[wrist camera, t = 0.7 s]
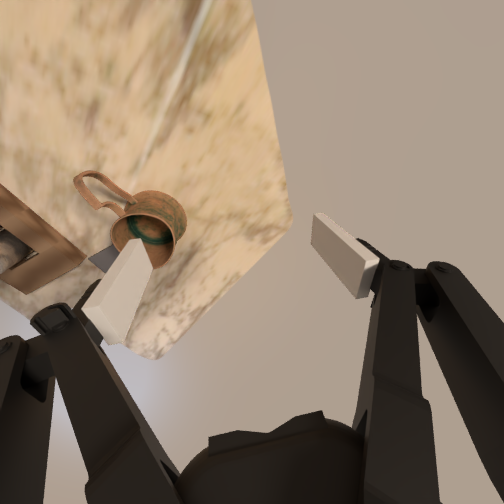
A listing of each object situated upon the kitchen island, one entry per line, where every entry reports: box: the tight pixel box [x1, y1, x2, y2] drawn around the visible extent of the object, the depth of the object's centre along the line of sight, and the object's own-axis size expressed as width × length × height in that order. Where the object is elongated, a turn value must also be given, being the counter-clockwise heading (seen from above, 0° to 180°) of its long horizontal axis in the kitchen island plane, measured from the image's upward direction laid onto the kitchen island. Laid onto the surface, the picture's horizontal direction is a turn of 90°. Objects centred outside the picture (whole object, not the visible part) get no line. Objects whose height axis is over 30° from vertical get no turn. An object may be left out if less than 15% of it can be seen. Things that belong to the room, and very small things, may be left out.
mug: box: [73, 171, 187, 269], centre depth 35 cm, size 12×18×12 cm, turn 26°
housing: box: [0, 184, 87, 295], centre depth 38 cm, size 17×13×4 cm
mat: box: [88, 244, 120, 273], centre depth 45 cm, size 8×8×1 cm
